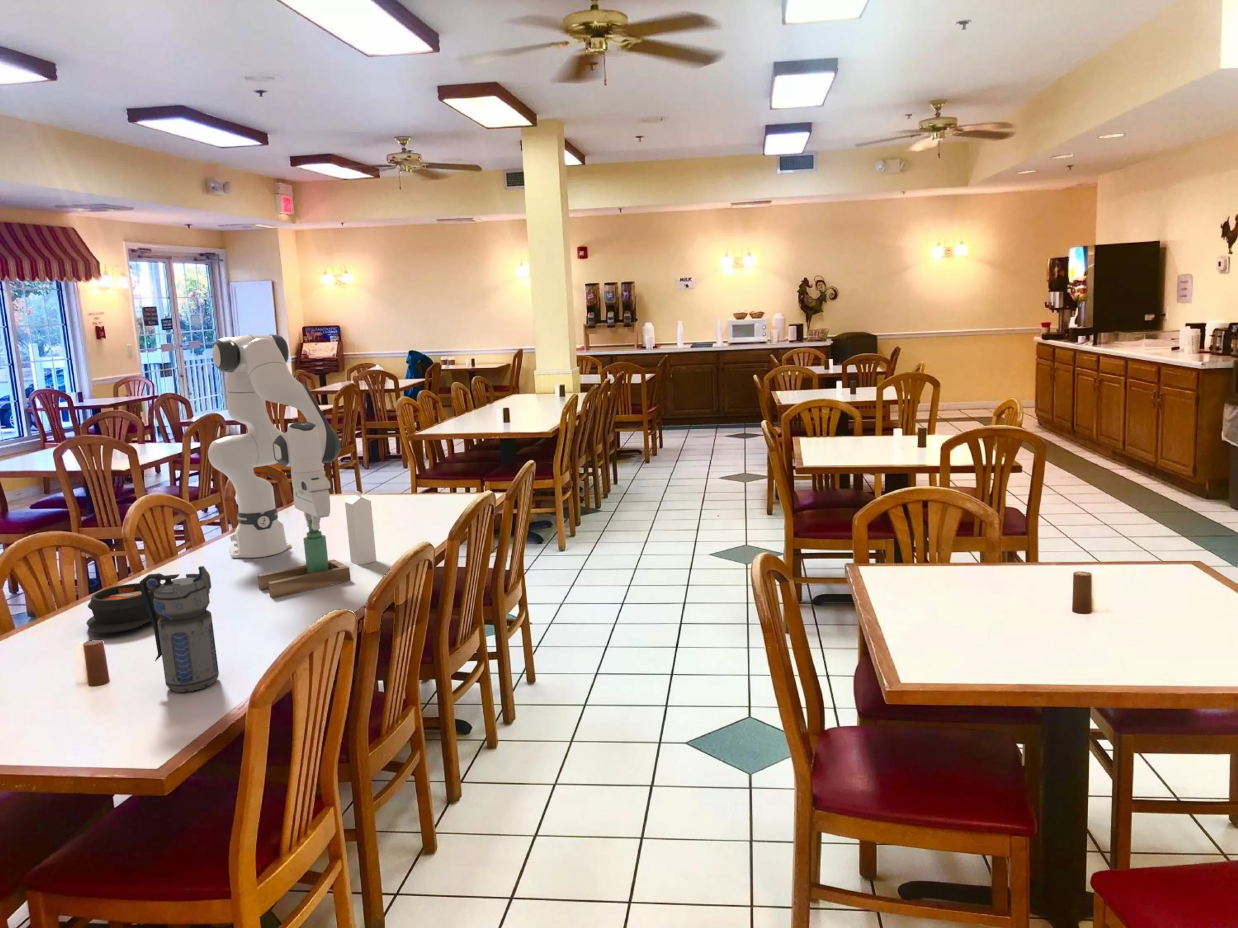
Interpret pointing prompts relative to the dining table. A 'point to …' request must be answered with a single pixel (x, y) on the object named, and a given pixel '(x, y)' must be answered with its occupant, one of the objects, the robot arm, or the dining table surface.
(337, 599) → the dining table surface
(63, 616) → the dining table surface
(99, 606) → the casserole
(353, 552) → the milk
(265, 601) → the dining table surface
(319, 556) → the bottle
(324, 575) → the u rest
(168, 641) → the blue striped grenade
